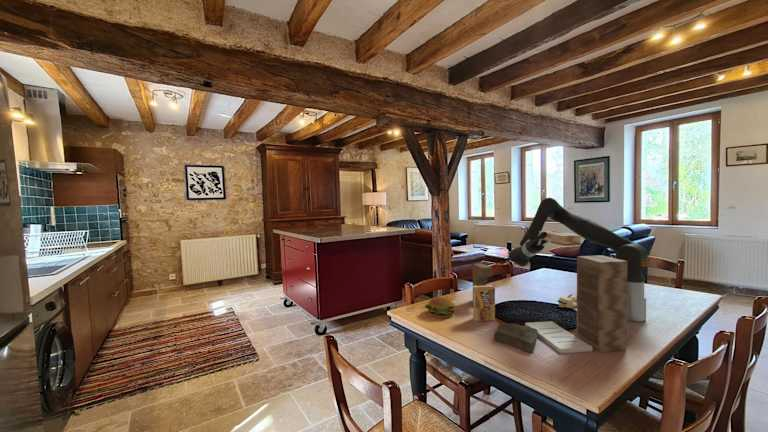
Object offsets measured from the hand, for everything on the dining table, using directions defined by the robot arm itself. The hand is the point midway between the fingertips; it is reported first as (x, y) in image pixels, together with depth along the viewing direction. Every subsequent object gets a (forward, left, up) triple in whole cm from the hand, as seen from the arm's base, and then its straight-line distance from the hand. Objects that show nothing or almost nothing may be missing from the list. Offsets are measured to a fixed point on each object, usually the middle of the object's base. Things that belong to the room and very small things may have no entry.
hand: (550, 233), depth 143 cm
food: (+48, -12, -39) cm, 63 cm away
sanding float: (0, +5, -3) cm, 6 cm away
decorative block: (+22, -24, -39) cm, 51 cm away
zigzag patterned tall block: (-3, +27, -39) cm, 47 cm away
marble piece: (+26, +20, -39) cm, 51 cm away
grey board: (+10, +20, -39) cm, 45 cm away
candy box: (+30, -2, -39) cm, 49 cm away
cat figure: (-24, -13, -39) cm, 48 cm away
